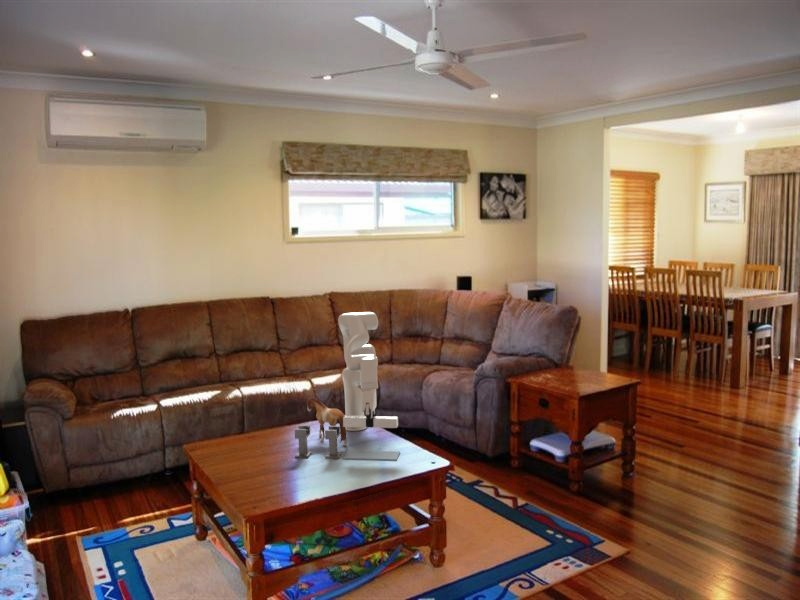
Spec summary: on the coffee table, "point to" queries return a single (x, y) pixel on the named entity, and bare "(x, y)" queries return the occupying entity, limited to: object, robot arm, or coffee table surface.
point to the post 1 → (303, 441)
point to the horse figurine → (327, 417)
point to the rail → (377, 421)
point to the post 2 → (333, 442)
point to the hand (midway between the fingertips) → (370, 425)
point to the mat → (371, 455)
